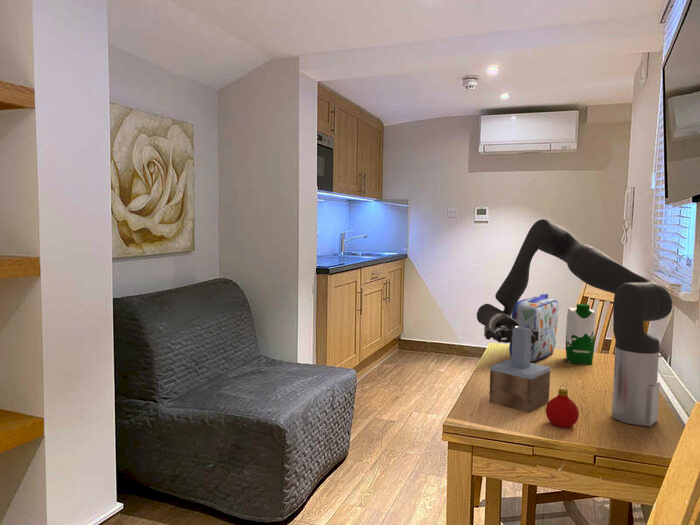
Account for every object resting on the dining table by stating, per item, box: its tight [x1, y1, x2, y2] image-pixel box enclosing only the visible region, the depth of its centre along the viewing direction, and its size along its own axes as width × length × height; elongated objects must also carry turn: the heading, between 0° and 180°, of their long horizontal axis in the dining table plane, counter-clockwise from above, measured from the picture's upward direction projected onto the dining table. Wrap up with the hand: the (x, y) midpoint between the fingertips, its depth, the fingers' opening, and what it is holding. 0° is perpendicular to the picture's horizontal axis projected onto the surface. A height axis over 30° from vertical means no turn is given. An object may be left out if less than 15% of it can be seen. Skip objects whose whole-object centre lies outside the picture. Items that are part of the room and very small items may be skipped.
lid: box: [490, 327, 551, 379], centre depth 135 cm, size 11×11×12 cm
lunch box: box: [508, 293, 559, 362], centre depth 185 cm, size 28×10×22 cm, turn 143°
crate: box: [488, 370, 551, 414], centre depth 135 cm, size 11×11×9 cm
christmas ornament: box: [545, 384, 580, 429], centre depth 121 cm, size 7×7×10 cm
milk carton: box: [565, 303, 597, 365], centre depth 179 cm, size 9×9×20 cm
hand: (516, 339), depth 140 cm, fingers open, 8 cm apart
